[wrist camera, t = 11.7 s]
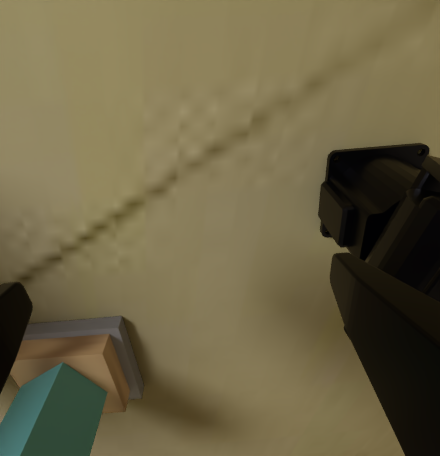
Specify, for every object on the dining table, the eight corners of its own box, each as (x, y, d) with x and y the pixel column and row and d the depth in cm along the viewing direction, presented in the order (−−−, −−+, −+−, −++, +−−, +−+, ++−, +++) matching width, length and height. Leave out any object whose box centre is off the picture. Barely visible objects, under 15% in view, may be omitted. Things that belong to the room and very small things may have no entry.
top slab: (109, 333, 27) (102, 353, 25) (130, 390, 31) (125, 411, 29) (15, 341, 27) (2, 361, 25) (48, 397, 31) (39, 417, 29)
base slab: (123, 310, 28) (118, 327, 26) (145, 379, 33) (141, 398, 31) (12, 319, 28) (-1, 336, 26) (50, 387, 33) (42, 405, 31)
